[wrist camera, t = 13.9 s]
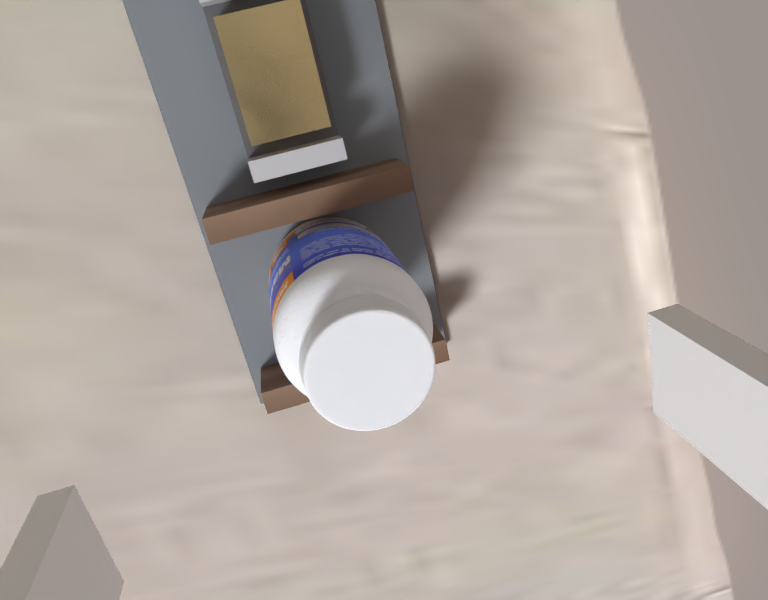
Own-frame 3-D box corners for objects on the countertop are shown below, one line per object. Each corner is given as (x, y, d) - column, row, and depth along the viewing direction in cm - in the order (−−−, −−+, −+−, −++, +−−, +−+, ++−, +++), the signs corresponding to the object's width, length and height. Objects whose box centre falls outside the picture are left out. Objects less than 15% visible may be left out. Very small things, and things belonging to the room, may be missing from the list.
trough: (206, 206, 25) (201, 219, 23) (395, 157, 26) (409, 165, 24) (267, 386, 28) (267, 413, 26) (434, 337, 29) (449, 360, 27)
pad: (215, 20, 22) (213, 16, 21) (297, 1, 22) (299, -3, 21) (252, 143, 24) (251, 146, 23) (327, 124, 24) (331, 126, 23)
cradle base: (197, -14, 23) (191, -24, 21) (293, -36, 23) (297, -47, 21) (254, 175, 25) (254, 183, 23) (340, 152, 25) (347, 159, 23)
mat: (18, -307, 19) (14, -314, 19) (298, -355, 20) (299, -363, 20) (261, 399, 29) (261, 403, 28) (445, 345, 30) (447, 349, 29)
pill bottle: (256, 226, 26) (256, 302, 17) (383, 204, 27) (448, 266, 18) (281, 344, 28) (293, 470, 19) (399, 321, 28) (465, 431, 19)
